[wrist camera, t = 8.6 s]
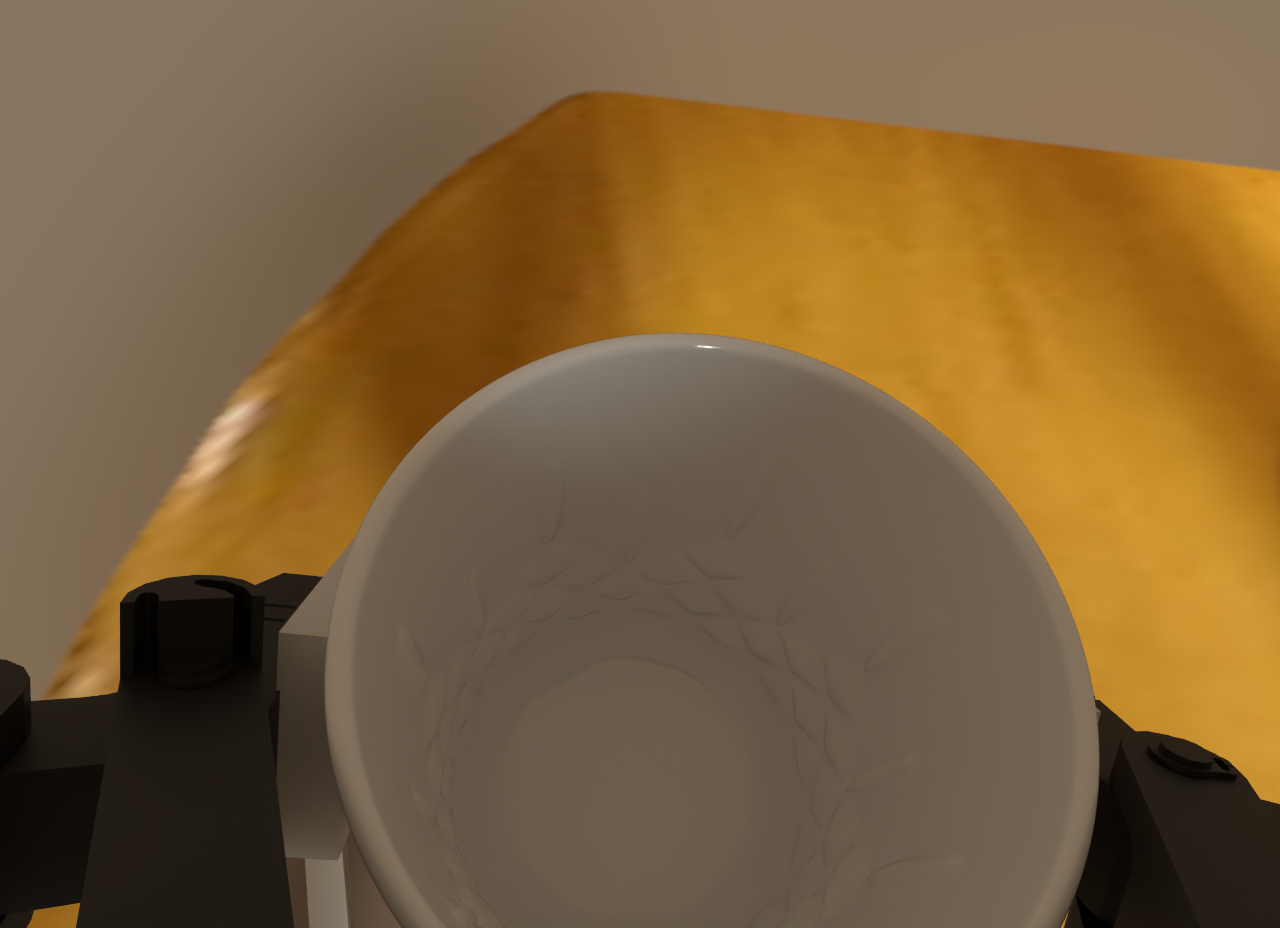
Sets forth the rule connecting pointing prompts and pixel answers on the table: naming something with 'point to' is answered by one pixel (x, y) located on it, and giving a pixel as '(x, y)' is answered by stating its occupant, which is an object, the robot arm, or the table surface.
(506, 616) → the white cup
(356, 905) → the keeper board
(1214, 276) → the table surface
